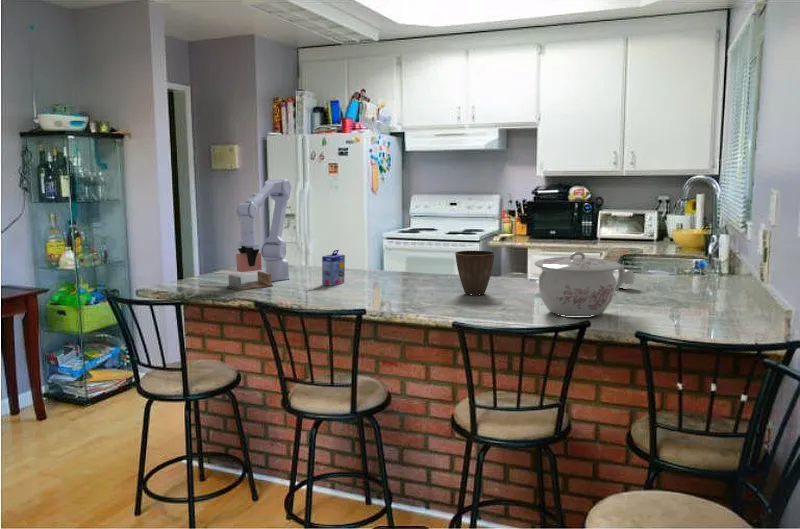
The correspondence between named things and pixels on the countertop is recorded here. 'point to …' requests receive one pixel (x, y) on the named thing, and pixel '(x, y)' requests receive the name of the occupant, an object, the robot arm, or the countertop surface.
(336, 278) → the ink cartridge box
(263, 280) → the shelf
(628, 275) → the white plastic bottle
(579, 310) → the chamber pot
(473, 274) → the plant pot
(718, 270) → the countertop surface
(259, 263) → the pink rectangular pillar
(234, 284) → the gray rectangular bar
